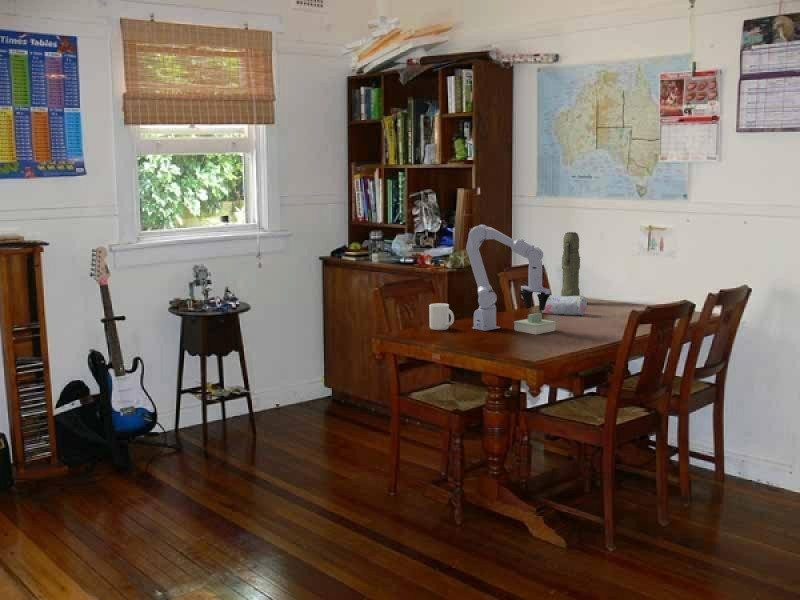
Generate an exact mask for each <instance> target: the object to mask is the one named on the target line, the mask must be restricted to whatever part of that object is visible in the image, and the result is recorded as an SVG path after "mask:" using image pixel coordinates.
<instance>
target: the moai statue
mask: <svg viewBox="0 0 800 600" xmlns="http://www.w3.org/2000/svg"><path fill="white" fill-rule="evenodd" d="M562 242H563V245H562V246H563V247H562V248H563V251H562V257H561V269H562V287H561V293H560V294H561V295H560V296H581V294H580V292H581V291H580V287H579V283H580V281H579V280H580V269H581V257H580V256H581V255H580V250H579V249H580V237H579V234H578V233H577V232H575V231H574V232H573V231H570V232H569V231H568V232H565V234H564V236H563V240H562Z"/></svg>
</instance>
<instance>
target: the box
mask: <svg viewBox="0 0 800 600" xmlns="http://www.w3.org/2000/svg"><path fill="white" fill-rule="evenodd" d="M513 324H514V330H513V331H515V332H520V333H525V334H532V335H540V334H545V333H550V332H551V333H552V332H555V331H556V324H551V325H546V326H540V327H531V326H526V325H520V324H515V323H514V322H513Z"/></svg>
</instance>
